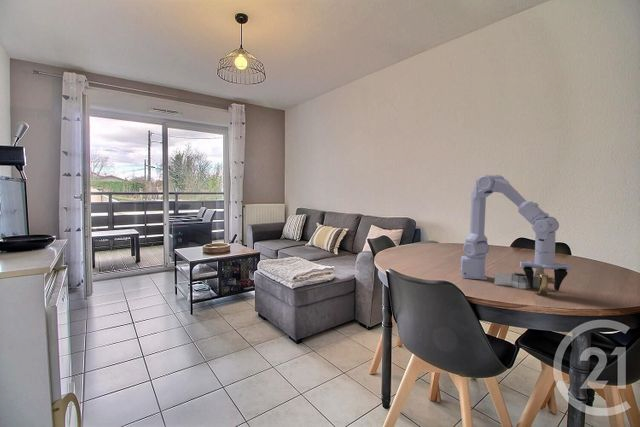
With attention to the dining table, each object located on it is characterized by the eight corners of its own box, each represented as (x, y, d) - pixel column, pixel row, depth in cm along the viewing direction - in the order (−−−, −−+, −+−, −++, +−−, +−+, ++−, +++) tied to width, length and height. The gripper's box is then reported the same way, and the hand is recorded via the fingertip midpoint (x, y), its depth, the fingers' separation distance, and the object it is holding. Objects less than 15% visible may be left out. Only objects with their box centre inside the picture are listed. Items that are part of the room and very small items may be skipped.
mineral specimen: (553, 282, 121) (554, 267, 121) (534, 281, 122) (534, 266, 122) (535, 273, 134) (536, 259, 133) (518, 273, 135) (518, 259, 134)
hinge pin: (540, 294, 107) (540, 275, 107) (538, 292, 109) (538, 273, 109) (548, 295, 106) (549, 275, 106) (546, 293, 109) (546, 274, 108)
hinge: (495, 286, 117) (496, 275, 116) (493, 282, 122) (493, 271, 122) (549, 291, 111) (550, 279, 110) (544, 286, 116) (545, 274, 116)
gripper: (523, 252, 106) (522, 290, 107) (574, 254, 100) (573, 294, 101) (518, 248, 112) (517, 284, 113) (566, 250, 107) (564, 287, 108)
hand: (543, 288), depth 108 cm, fingers open, 7 cm apart
